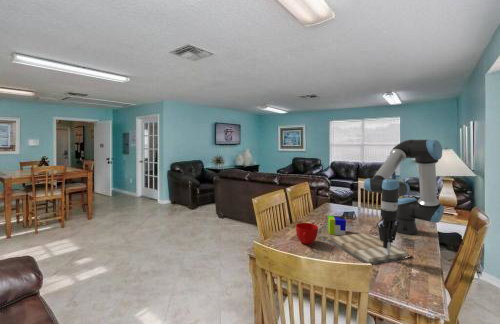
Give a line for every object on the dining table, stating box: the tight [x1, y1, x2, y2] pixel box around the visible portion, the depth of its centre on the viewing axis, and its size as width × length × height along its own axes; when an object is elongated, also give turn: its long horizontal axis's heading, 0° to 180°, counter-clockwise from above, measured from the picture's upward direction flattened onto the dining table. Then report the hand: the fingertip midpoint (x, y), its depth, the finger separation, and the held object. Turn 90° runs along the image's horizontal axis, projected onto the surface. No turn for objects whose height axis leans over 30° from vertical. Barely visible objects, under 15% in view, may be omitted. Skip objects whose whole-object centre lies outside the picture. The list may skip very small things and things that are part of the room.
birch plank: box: [355, 244, 409, 263], centre depth 136 cm, size 26×10×2 cm, turn 108°
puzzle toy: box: [327, 215, 347, 236], centre depth 172 cm, size 10×10×10 cm
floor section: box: [327, 232, 414, 265], centre depth 146 cm, size 30×33×2 cm
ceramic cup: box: [295, 222, 319, 245], centre depth 152 cm, size 13×17×10 cm
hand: (386, 253), depth 133 cm, fingers closed
